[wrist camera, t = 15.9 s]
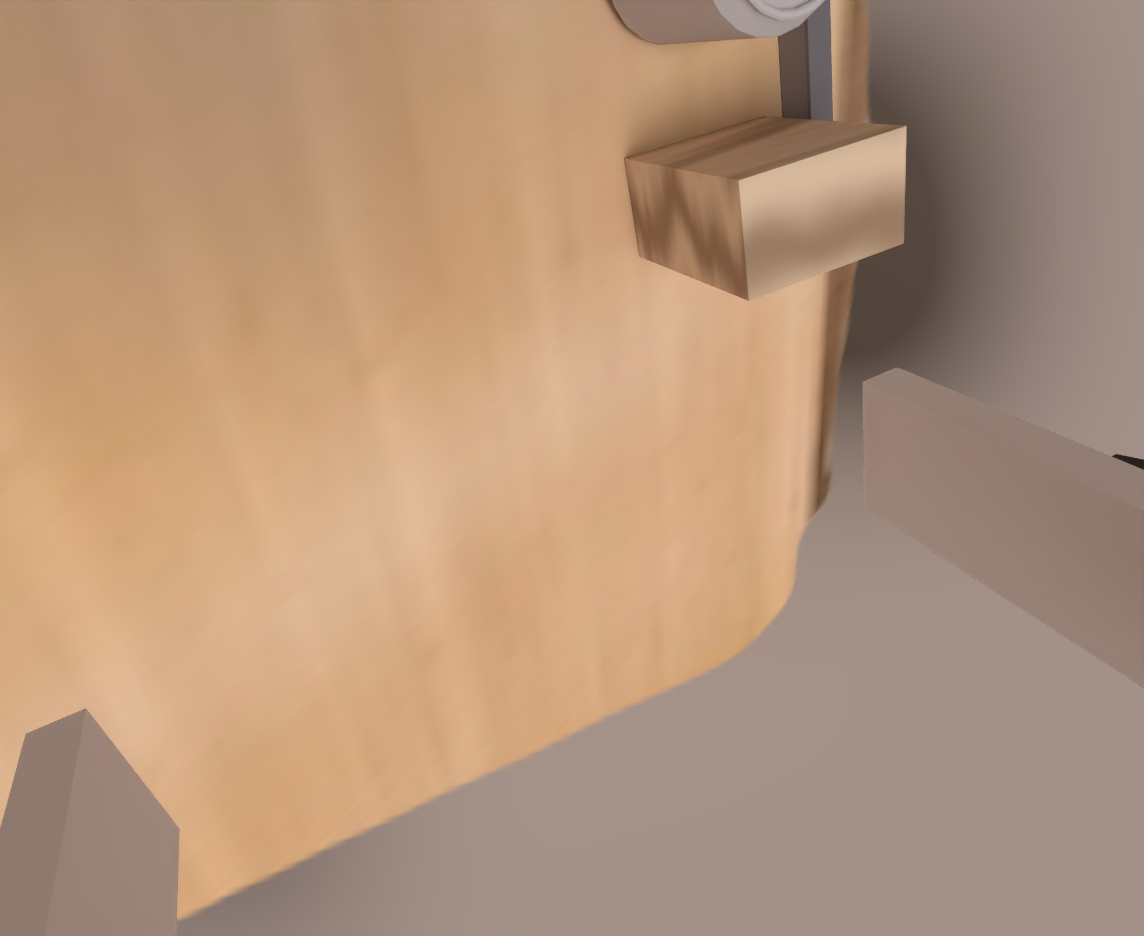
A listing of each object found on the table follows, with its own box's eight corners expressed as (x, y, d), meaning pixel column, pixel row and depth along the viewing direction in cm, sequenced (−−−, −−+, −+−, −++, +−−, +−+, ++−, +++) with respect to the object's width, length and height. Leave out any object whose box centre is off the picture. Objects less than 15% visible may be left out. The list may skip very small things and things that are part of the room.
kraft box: (624, 158, 46) (738, 180, 36) (765, 115, 49) (908, 125, 39) (639, 256, 49) (748, 300, 40) (772, 211, 52) (905, 242, 42)
